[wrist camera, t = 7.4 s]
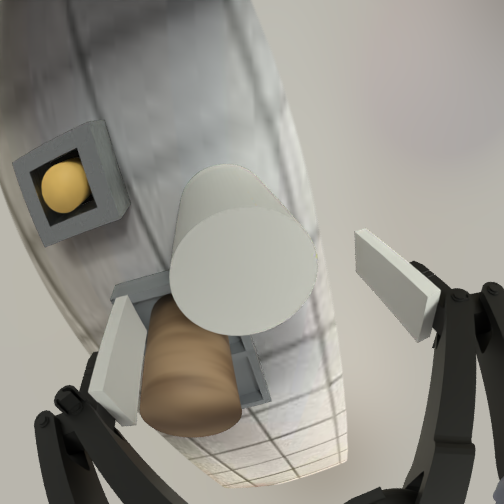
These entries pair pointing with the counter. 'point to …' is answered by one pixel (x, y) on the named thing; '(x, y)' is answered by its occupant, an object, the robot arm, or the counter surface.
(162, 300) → the ball
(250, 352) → the grey divided tray
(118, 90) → the counter surface
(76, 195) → the button
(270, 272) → the white stubby cylinder
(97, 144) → the grey square holder
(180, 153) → the counter surface
